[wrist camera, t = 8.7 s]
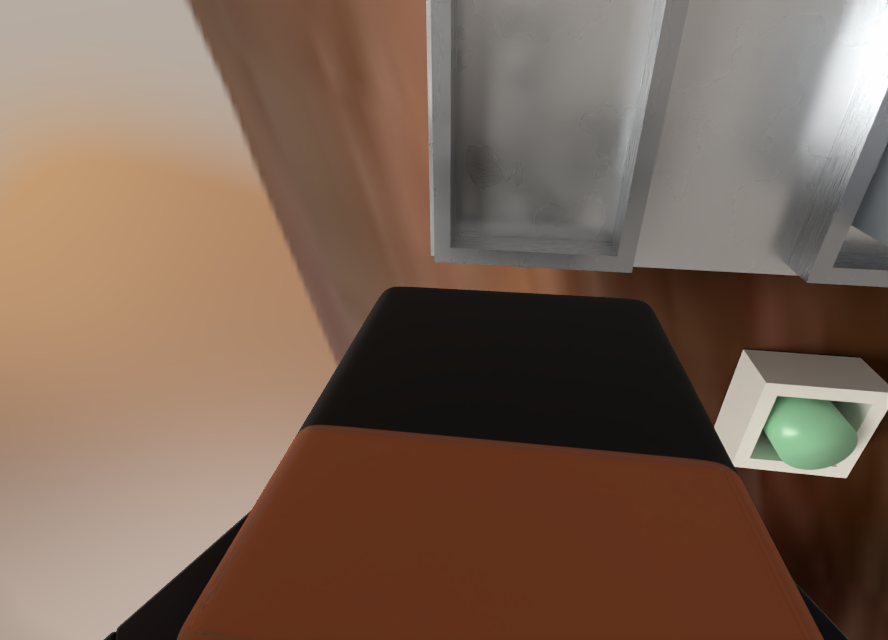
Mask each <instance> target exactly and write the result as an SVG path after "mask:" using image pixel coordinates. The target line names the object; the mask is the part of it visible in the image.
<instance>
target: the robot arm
mask: <svg viewBox="0 0 888 640" xmlns="http://www.w3.org/2000/svg"><path fill="white" fill-rule="evenodd" d="M250 512H251V511H250ZM250 512H249V513H248V514H247V515H246V516H244V517H243V518H242V519H241V520H240V521H239V522H238V523H236V524H235V525H234V526H233V527H232V528H231V529H229V530H228V531H227V532H226V533H225V534H224V535H223V536H221V537H220V538H219V539H218V540H217V541H216V542H215V543H214V544H212V545H211V546H210V547H209V548H208V549H207V550H206V551H204V552H203V553H202V554H201V555H200V556H199V557H198V558H196V559H195V560H194V561H193V562H192V563H191V564H190V565H188V566H187V567H186V568H185V569H184V570H183V571H182V572H181V573H179V574H178V575H177V576H176V577H175V578H174V579H172V580H171V581H170V582H169V583H168V584H167V585H166V586H165V587H163V588H162V589H161V590H160V591H159V592H158V593H157V594H155V595H154V596H153V597H152V598H151V599H150V600H149V601H147V602H146V603H145V604H144V605H143V606H142V607H141V608H139V609H138V610H137V611H136V612H135V613H134V614H133V615H132V616H130V617H129V618H128V619H127V620H126V621H125V622H124V623H122V624H121V625H120V626H119V627H118V628H117V631H116V632H112V633H111V634H110V635H108V636H107V637H106V638H105V639H104V640H177V637H178V635H179V632H180V630H181V628H182V626H183V625H184V623H185V621H186V619H187V617H188V616H189V614H190V612H191V611H192V609H193V607H194V605H195V604H196V602H197V600H198V599H199V597H200V595H201V594H202V592H203V590H204V589H205V587H206V585H207V584H208V582H209V580H210V579H211V577H212V575H213V574H214V572H215V570H216V569H217V567H218V565H219V564H220V562H221V560H222V559H223V557H224V555H225V554H226V552H227V550H228V549H229V547H230V545H231V544H232V542H233V540H234V539H235V537H236V535H237V534H238V532H239V530H240V529H241V527H242V525H243V524H244V522H245V520H246V519H247V517H248V515H249V514H250ZM793 581H794V580H793ZM794 583H795V581H794ZM795 585H796V587H797V589H798V591H799V593H800V595H801V596H802V598H803V600H804V602H805V604H806V606H807V608H808V610H809V612H810V614H811V616H812V618H813V620H814V622H815V624H816V625H817V627H818V629H819V631H820V633H821V635H822V637H823V639H824V640H849V639H848V638H847V637H846V636H845V635H844V634H843V632H842V631H841V630H840V629H839V628H838V627H837V626H836V625H835V624H834V623H833V622H832V621H831V620H830V619H829V618H828V617H827V615H826V614H825V613H824V612H823V611H822V610H821V609H820V608H819V607H818V606H817V605H816V604H815V603H814V602H813V601H812V600H811V598H810V597H809V596H808V595H807V594H806V593H805V592H804V591H803V590H802V589H801V588H800V587H799V586H798V585H797V584H796V583H795Z"/></svg>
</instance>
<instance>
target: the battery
mask: <svg viewBox="0 0 888 640" xmlns="http://www.w3.org/2000/svg"><path fill="white" fill-rule="evenodd" d="M177 640H824V639H823V637H822V635H821V633H820V631H819V629H818V627H817V625H816V624H815V622H814V620H813V618H812V616H811V614H810V612H809V610H808V608H807V606H806V604H805V602H804V600H803V598H802V596H801V595H800V593H799V591H798V589H797V587H796V585H795V583H794V581H793V579H792V577H791V575H790V573H789V571H788V569H787V567H786V566H785V564H784V562H783V560H782V558H781V556H780V554H779V552H778V550H777V548H776V546H775V544H774V542H773V540H772V539H771V537H770V535H769V533H768V531H767V529H766V527H765V525H764V523H763V521H762V519H761V517H760V515H759V513H758V511H757V510H756V508H755V506H754V504H753V502H752V500H751V498H750V496H749V494H748V492H747V490H746V488H745V486H744V484H743V483H742V481H741V479H740V477H739V475H738V473H737V471H736V469H735V467H734V465H733V463H732V461H731V459H730V457H729V455H728V454H727V452H726V450H725V448H724V446H723V444H722V442H721V440H720V438H719V436H718V434H717V432H716V430H715V428H714V427H713V425H712V423H711V421H710V419H709V417H708V415H707V413H706V411H705V409H704V407H703V405H702V403H701V401H700V399H699V398H698V396H697V394H696V392H695V390H694V388H693V386H692V384H691V382H690V380H689V378H688V376H687V374H686V372H685V370H684V369H683V367H682V365H681V363H680V361H679V359H678V357H677V355H676V353H675V351H674V349H673V347H672V345H671V343H670V342H669V340H668V338H667V336H666V334H665V332H664V330H663V328H662V326H661V324H660V322H659V320H658V318H657V317H656V315H655V313H654V311H653V310H652V308H651V307H650V306H649V305H648V304H646V303H645V302H642V301H639V300H634V299H624V298H608V297H589V296H571V295H552V294H533V293H514V292H496V291H477V290H458V289H439V288H420V287H392V288H389V289H387V290H386V291H385V292H383V294H382V295H381V296H380V297H379V299H378V301H377V302H376V304H375V305H374V307H373V309H372V310H371V312H370V314H369V315H368V317H367V319H366V320H365V322H364V324H363V325H362V327H361V329H360V330H359V332H358V334H357V335H356V337H355V339H354V340H353V342H352V344H351V345H350V347H349V349H348V350H347V352H346V354H345V355H344V357H343V359H342V360H341V362H340V364H339V365H338V367H337V369H336V370H335V372H334V374H333V375H332V377H331V379H330V380H329V382H328V384H327V386H326V387H325V389H324V390H323V392H322V394H321V396H320V397H319V399H318V401H317V402H316V404H315V405H314V407H313V409H312V410H311V412H310V414H309V415H308V417H307V419H306V420H305V422H304V424H303V426H302V427H301V429H300V430H299V432H298V434H297V435H296V437H295V439H294V440H293V442H292V444H291V445H290V447H289V449H288V451H287V452H286V454H285V456H284V457H283V459H282V461H281V462H280V464H279V465H278V467H277V469H276V471H275V472H274V474H273V475H272V477H271V479H270V481H269V482H268V484H267V485H266V487H265V489H264V490H263V492H262V494H261V495H260V497H259V499H258V500H257V502H256V504H255V505H254V507H253V509H252V510H251V512H250V514H249V515H248V517H247V519H246V520H245V522H244V524H243V525H242V527H241V529H240V530H239V532H238V534H237V535H236V537H235V539H234V540H233V542H232V544H231V545H230V547H229V549H228V550H227V552H226V554H225V555H224V557H223V559H222V560H221V562H220V564H219V565H218V567H217V569H216V570H215V572H214V574H213V575H212V577H211V579H210V580H209V582H208V584H207V585H206V587H205V589H204V590H203V592H202V594H201V595H200V597H199V599H198V600H197V602H196V604H195V605H194V607H193V609H192V611H191V612H190V614H189V616H188V617H187V619H186V621H185V623H184V625H183V626H182V628H181V630H180V632H179V635H178V637H177Z"/></svg>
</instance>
